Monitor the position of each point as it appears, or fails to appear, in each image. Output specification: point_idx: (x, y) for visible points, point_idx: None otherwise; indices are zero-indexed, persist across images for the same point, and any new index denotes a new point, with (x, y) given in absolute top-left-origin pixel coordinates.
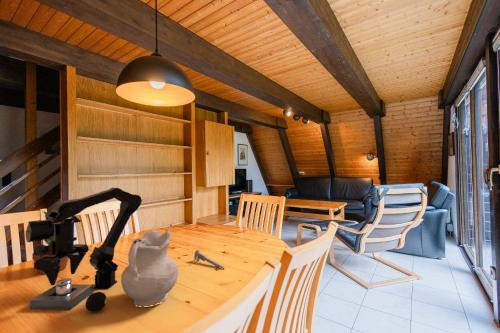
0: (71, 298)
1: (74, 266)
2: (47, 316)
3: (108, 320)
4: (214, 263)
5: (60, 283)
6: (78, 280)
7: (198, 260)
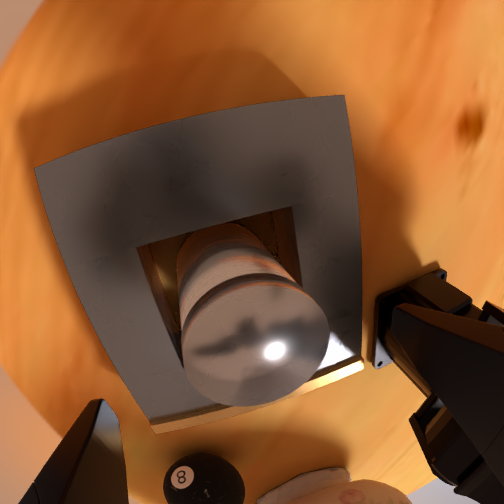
0: (172, 425)
1: (449, 386)
2: (67, 349)
3: None
4: None
5: (197, 382)
6: (446, 110)
7: None
